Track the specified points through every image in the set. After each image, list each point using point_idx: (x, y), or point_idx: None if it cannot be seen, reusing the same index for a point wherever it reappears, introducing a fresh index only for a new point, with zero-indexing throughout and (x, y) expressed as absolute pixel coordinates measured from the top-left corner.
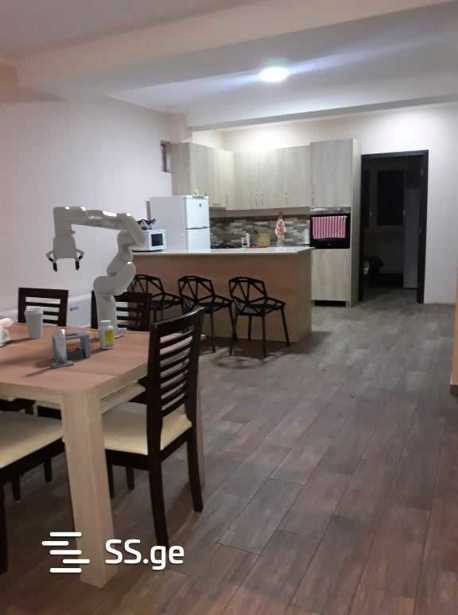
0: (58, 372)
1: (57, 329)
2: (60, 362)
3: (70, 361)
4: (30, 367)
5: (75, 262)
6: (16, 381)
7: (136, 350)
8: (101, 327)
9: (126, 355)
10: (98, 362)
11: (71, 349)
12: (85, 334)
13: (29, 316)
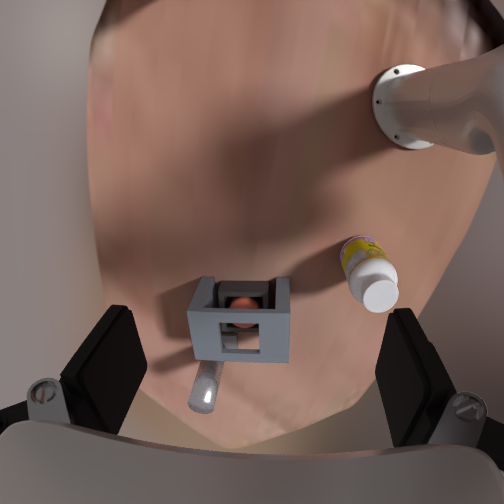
0: None
1: (195, 399)
2: None
3: (233, 346)
4: (151, 323)
5: (413, 404)
6: None
7: None
8: (357, 294)
9: (361, 348)
10: (289, 366)
11: (241, 327)
12: (281, 353)
13: None
